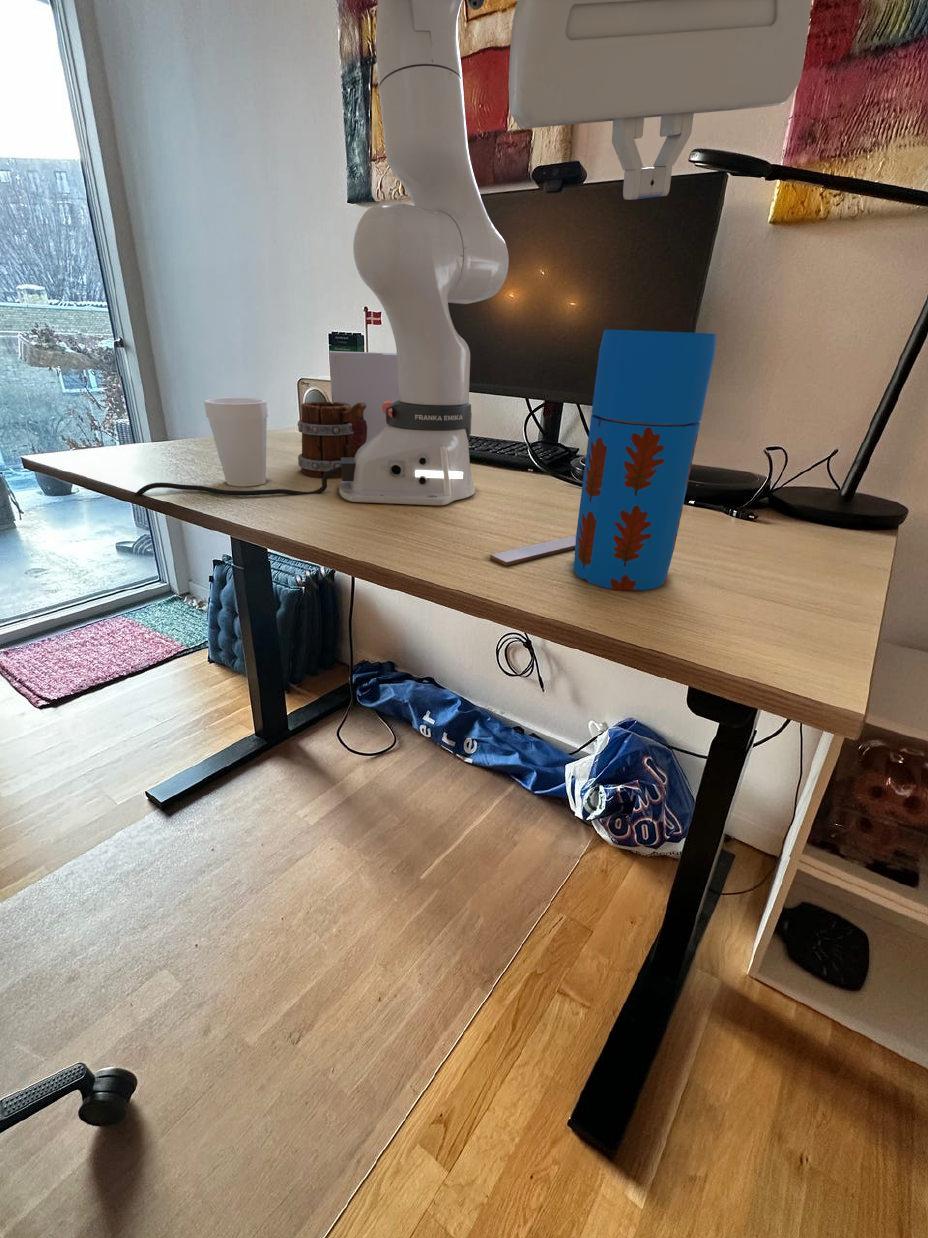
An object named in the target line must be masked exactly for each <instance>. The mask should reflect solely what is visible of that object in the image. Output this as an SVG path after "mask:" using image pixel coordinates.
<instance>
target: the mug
mask: <svg viewBox="0 0 928 1238" xmlns="http://www.w3.org/2000/svg"><path fill="white" fill-rule="evenodd" d="M365 408H366V404H365V403H357V404H356V405H354V406H353V407H351V405H350V404H347V403H341V402H333V404H332V401H311V402H310V401H309V402H308V401H307V402H303V403H301V404H300V409H301V410H300V411H301V413H300V415H301V419H299V420H298V421H297V428H298V432H299V433H301V453H299V454H298V457H297V463H298V467H300V468H301V469H300V470H301V473H302V474H304V475H306V476H309V477H314V478H322V477H323V476H324V474H325V473H326V472H328V471H330V470H332V469H335V468H337V467H340V466H341V457H355V455H356V453H357V451H358V449H359V448H360V447H361V446H362V445H364V444H365V443H366V439H367V429H368V428H367V424H366V420H364V415H363V411H364V410H365ZM335 478H342V474H341V471H340V472H338V473H335V474H333V475H331V476H329V477H328V478H327V479H335Z"/></svg>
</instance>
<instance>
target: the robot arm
mask: <svg viewBox="0 0 928 1238" xmlns="http://www.w3.org/2000/svg"><path fill="white" fill-rule="evenodd" d="M462 3H463V0H377V6H376V9H377V10H376V27H375V28H376V29H375V30H376V33H375V34H376V35H375V36H376V37H375V45H376V48H375V49H376V51H375V52H376V71H377V72H376V73H377V86H378V94H379V104H380V115H381V123H382V131H383V132H382V133H383V141H384V151H385V158H386V160H387V164H388V166H389V169H390V171H391V172H392V173H393V175H394V176H395V178H396V179H397V180H398V181H399V182H400V184H401V185H402V186H403V187H404V189H405V190H406V192H407V193H408V195H409V198H410V200H411V201H412V204H409V203H389V204H388V203H387V204H380V205H375V206H371V207H370V208H368V209H367V210H366V211H365V212H364V213H363V214H362V216H361V218H360V219H359V221H358V223H357V226H356V228H355V231H354V235H353V242H352V243H353V244H352V247H353V248H352V250H353V251H352V253H353V258H354V263H355V266H356V270H357V271H358V274H359V276H360V278H361V280H362V282H363V283H364V284H365V285H366V286H367V287H368V288H369V289H370V291H372V293H373V294H374V295H375V296H376V298H377V299H378V302H379V303H380V304H381V306H382V308H383V310H384V312H385V315H386V317H387V319H388V322H389V325H390V327H391V330H392V335H393V338H394V344H395V349H396V353H397V364H398V390H399V400H397V401H395V402H394V403H392V402H390V401H385V402H384V404H382V406H383V407H382V410H383V412H384V413H385V414H386V423H387V424H388V425H387V426H386V427H385V428H383V429H382V430H381V431H380V432H379V433H377V434H376V435H375V436H374V437H372V438H371V439H370V440H369V441H367V442H366V443H365V444H364V445H362V446H361V447H360V448H359V449H358V451H357V453H356V455H355V457H341V466H340V467H337V468H335V469H332V470H330V471H328V472H326V473H325V474H324V476H322V477H321V487H319V488H317V489H315V490H312V491H301V490H295V489H286V488H270V489H252V490H250V489H249V490H247V489H246V490H239V489H238V490H233V489H222V488H221V489H220V488H214V487H210V486H204V485H197V484H196V485H195V484H180V483H172V482H153V483H152V482H151V483H148V484H146V485H144V486H142V487H141V488H139V489H138V490H137V491H136V492H135V494H134V496H136V497H140V496H143V495H144V494H145V493H146V492H148V491H150V490H154V489H160V488H161V489H162V488H163V489H172V490H173V489H175V490H180V491H181V490H183V491H198V492H199V491H200V492H206V493H211V494H216V495H222V496H235V497H236V496H237V497H238V496H242V497H243V496H247V497H249V496H266V495H267V496H268V495H288V496H302V495H318V494H322V493H324V492H325V491H326V490H327V487H328V479H329V478H328V477H329V476H331V475H333V474H335V473H338V472H340V471H341V474H342V477H341V481H340V483H339V486H338V487H339V489H338V492H339V495H340V497H341V498H342V499H344V500H346V501H349V502H354V503H372V504H373V503H374V504H397V505H418V506H445V505H446V506H447V505H449V504H450V503H452V502H454V501H457V500H458V501H459V500H463V499H466V498H469V497H471V496H473V495H475V493H476V488H475V485H474V481H473V475H472V468H471V461H470V449H469V448H470V447H469V440H470V439H471V434H472V421H473V420H472V419H473V416H472V414H473V412H472V404H471V403H470V378H471V377H470V376H471V350H470V347H469V345H468V343H467V342H466V340H465V339H464V338H463V337H461V335H460V334H459V333H458V331H457V330H456V328H455V325H454V323H453V319H452V317H451V313H450V309H449V303H450V304H461V305H469V304H472V303H477V302H482V301H485V300H489V299H491V298H493V297H494V296H495V295H497V293H499V292H500V290H501V289H502V287H503V286H504V283H505V281H506V279H507V276H508V272H509V262H510V259H509V250H508V247H507V243H506V241H505V239H504V238H503V236H502V235H501V234H500V233H499V231H498V230H497V228H496V227H495V226H494V224H493V222H492V220H491V218H490V217H489V214H488V213H487V212H488V211H487V210H486V207H485V205H484V201H483V200H482V197H481V193H480V191H479V187H478V184H477V181H476V178H475V174H474V171H473V166H472V161H471V157H470V152H469V144H468V134H467V124H466V111H465V100H464V85H463V72H462V63H461V54H460V46H459V36H458V35H459V34H458V22H459V14H460V9H461V5H462ZM467 3H468V5H469V7H470V8H471V9H472V10H473V11H477V10H479V9H481V8H482V7H484V4H485V0H467ZM811 7H812V0H517V2H516V5H515V8H514V12H513V17H512V25H511V37H510V47H509V49H510V50H509V63H508V64H509V66H508V109H509V113H510V115H511V117H512V119H513V121H514V122H515V123H516V125H517V127H518V128H520V129H521V130H524V129H525V130H526V129H536V128H537V129H538V128H549V127H559V126H570V125H572V126H573V125H582V124H593V123H604V122H612V133H611V143H612V147H613V148H614V151H615V154H616V156H617V158H618V161H619V164H620V166H621V168H622V171H624V174H623V187H622V189H623V190H622V196H623V199H624V200H628V201H629V200H630V201H631V200H640V199H649V198H659V197H667V196H669V195H668V194H669V192H670V189H671V181H672V171H673V167H674V166H675V164H676V163H677V160H678V159H679V157H680V156H681V153H682V151H683V150H684V148H685V146H686V145H687V142H688V141H689V139H690V137H691V135H692V131H693V124H694V123H693V122H694V116H695V114H704V113H705V114H707V113H714V112H715V113H717V112H727V111H738V110H739V111H740V110H747V109H748V110H750V109H759V108H768V107H775V106H779V105H784V104H786V103H787V102H788V101H789V99H790V98H791V96H792V95H793V94H794V92H795V91H796V89H797V88H798V86H799V84H800V82H801V79H802V75H803V70H804V66H805V65H804V64H805V57H806V50H807V44H808V37H809V28H810V17H811ZM650 118H660V126H659V136H660V137H661V138H663V137H666V138H665V139H664V142H663V144H662V146H661V148H660V150H659V152H658V154H657V156H656V159H655V161H654V163H653V164H652V167H644V165H643V162H642V158H641V156H640V153H639V149H638V146H637V143H636V139H642V137H643V135H644V125H645V124H644V123H645V119H650Z"/></svg>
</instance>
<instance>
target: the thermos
mask: <svg viewBox="0 0 928 1238" xmlns="http://www.w3.org/2000/svg"><path fill="white" fill-rule="evenodd" d="M716 342H717V333H710V332H709V333H708V332H707V333H706V332H688V331H687V332H685V331H684V332H683V331H661V330H660V331H659V330H657V331H656V330H629V329H628V330H627V329H604V330H603V333H602V338H601V342H600V347H599V352H598V360H597V366H596V375H595V383H594V390H593V398H592V406H591V415H590V423H589V431H588V438H587V446H586V453H585V462H584V468H583V469H584V471H583V478H582V486H581V492H580V501H579V508H578V509H579V510H578V517H577V524H576V534H575V535H576V543H575V549H574V557H573V558H574V559H573V560H574V561H573V572H574V573H575V574H576V575H577V577H578V578H580V579H582V580H583V581H586V582H587V583H589V584H592V585H595V586H599V587H601V588H605V589H613V590H617V591H631V592H640V591H648V590H654V589H656V588H659V587H661V586H662V585H663V584H665V582H666V581H667V577H668V572H669V569H670V566H671V562H672V559H673V556H674V555H673V554H674V551H675V548H676V547H675V546H676V542H677V538H678V532H679V529H680V522H681V518H682V513H683V509H684V504H685V499H686V498H685V497H686V494H687V490H688V486H689V485H688V484H689V479H690V475H691V470H692V465H693V460H694V455H695V450H696V446H697V441H698V436H699V431H700V427H701V423H700V422H701V421H702V418H703V417H702V416H703V413H704V407H705V403H706V398H707V392H708V388H709V383H710V379H711V374H712V369H713V364H714V359H715V354H716V344H717V343H716Z"/></svg>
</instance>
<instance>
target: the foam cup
mask: <svg viewBox="0 0 928 1238" xmlns="http://www.w3.org/2000/svg"><path fill="white" fill-rule="evenodd" d="M203 403H204V410H205V416H206V418H207V419H208V422H209V427H210V429H211V434H212V437H213V440H214V444H215V447H216V451H217V454H218V458H219V461H220V465H221V468H222V471H223V475H224V478H225V479H224V480H225V481H226V484H227V485H228V486H233V487H255V486H260V485H263V484H265V483H266V479H267V435H268V433H267V431H268V430H267V429H268V427H267V425H268V423H267V422H268V417H269V414H268V404H267V399H262V398H256V397H255V398H254V397H215V398H208V399H204V401H203Z"/></svg>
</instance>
